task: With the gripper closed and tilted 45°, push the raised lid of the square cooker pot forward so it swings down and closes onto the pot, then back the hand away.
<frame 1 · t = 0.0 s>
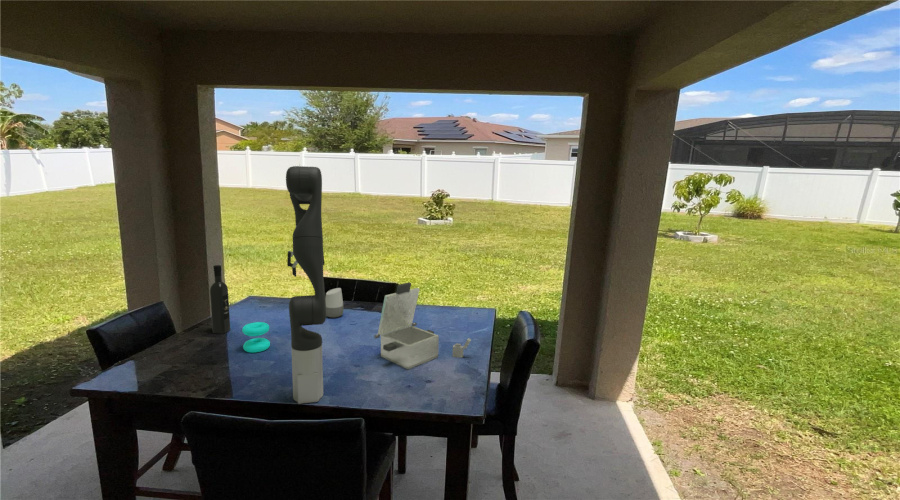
hand: (306, 275, 177), 29 cm above the table, tool pointing down, fingers open, 8 cm apart
cooker pot: (409, 356, 172), on the table
lighter: (461, 357, 174), on the table
donuts: (257, 349, 176), on the table
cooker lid: (399, 307, 173), point 19 cm above the table, hinge at 75.0°
wine bottle: (221, 332, 194), on the table
smart speaker: (334, 316, 219), on the table
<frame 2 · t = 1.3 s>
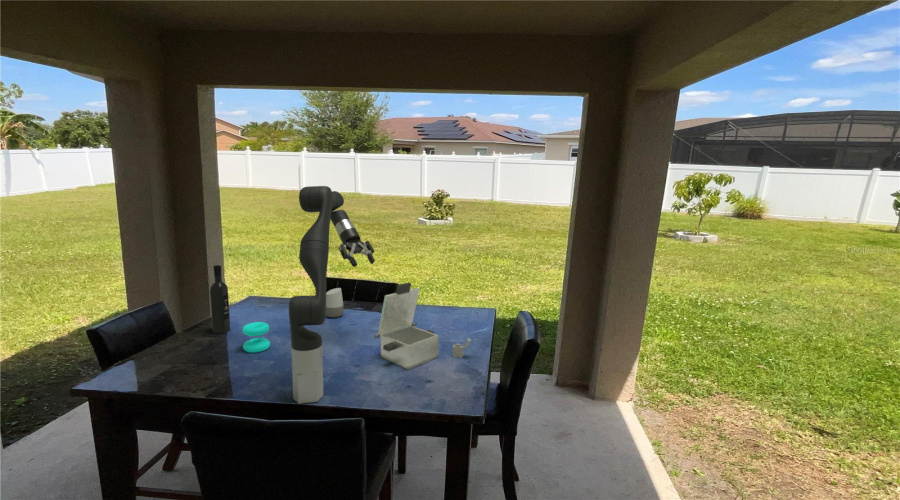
hand: (364, 264, 176), 35 cm above the table, tool tilted 45°, fingers open, 8 cm apart
nothing on the table moved.
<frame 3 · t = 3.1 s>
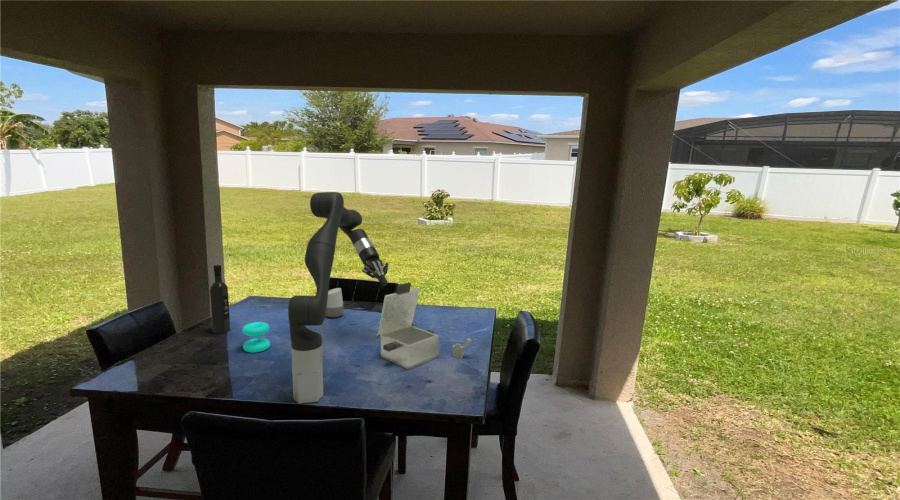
hand: (385, 284, 178), 27 cm above the table, tool tilted 45°, fingers closed
nothing on the table moved.
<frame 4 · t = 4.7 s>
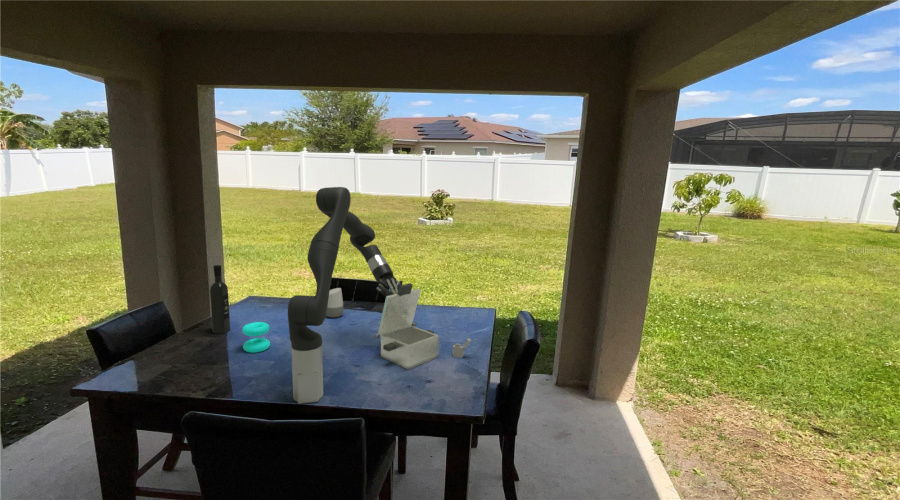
hand: (399, 303, 173), 21 cm above the table, tool tilted 45°, fingers closed
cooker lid: (400, 307, 173), point 19 cm above the table, hinge at 72.3°, touching gripper
everything else where it was.
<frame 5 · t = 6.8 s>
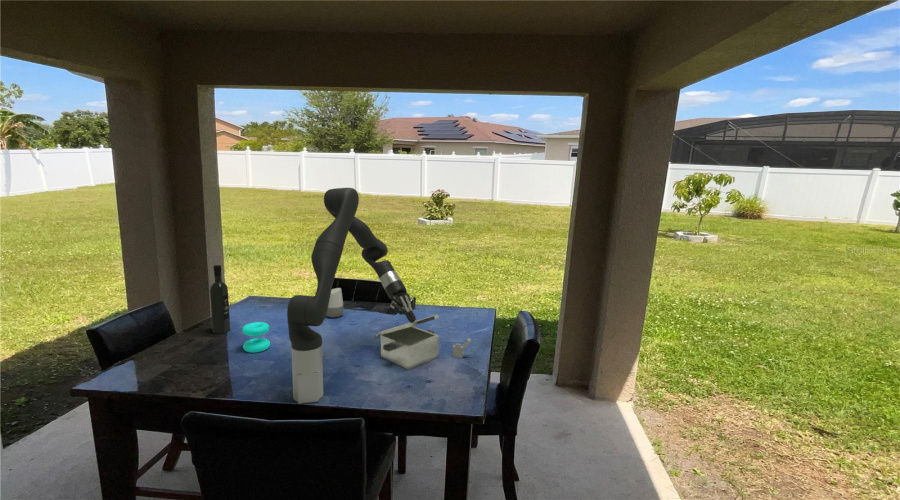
hand: (413, 321, 168), 15 cm above the table, tool tilted 45°, fingers closed
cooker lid: (411, 324, 169), point 14 cm above the table, hinge at 24.3°, touching gripper
everything else where it was.
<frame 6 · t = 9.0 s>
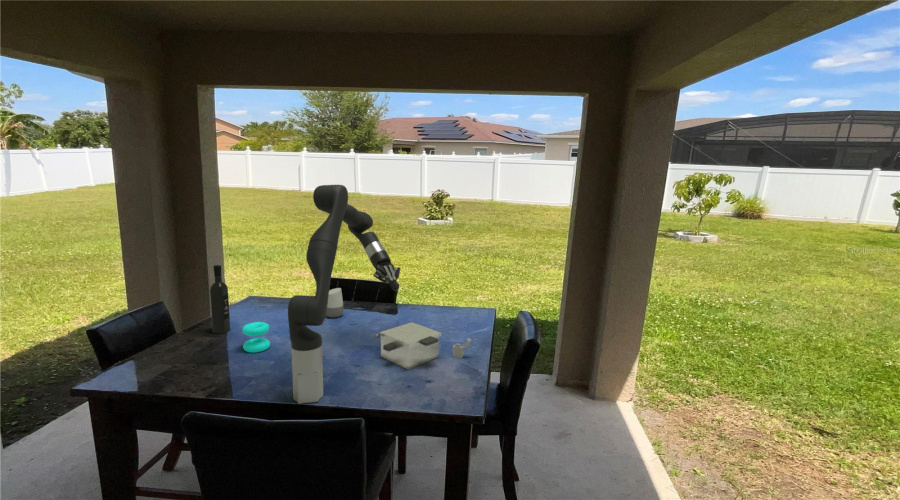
hand: (397, 289, 173), 26 cm above the table, tool tilted 45°, fingers closed
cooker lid: (413, 335, 169), point 10 cm above the table, hinge at -0.1°
everything else where it was.
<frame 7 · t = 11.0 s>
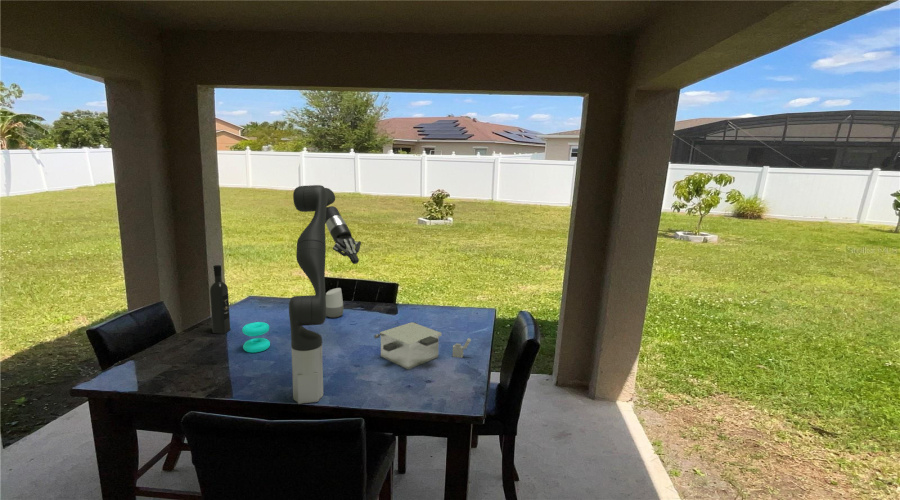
hand: (356, 262, 174), 36 cm above the table, tool tilted 45°, fingers closed
nothing on the table moved.
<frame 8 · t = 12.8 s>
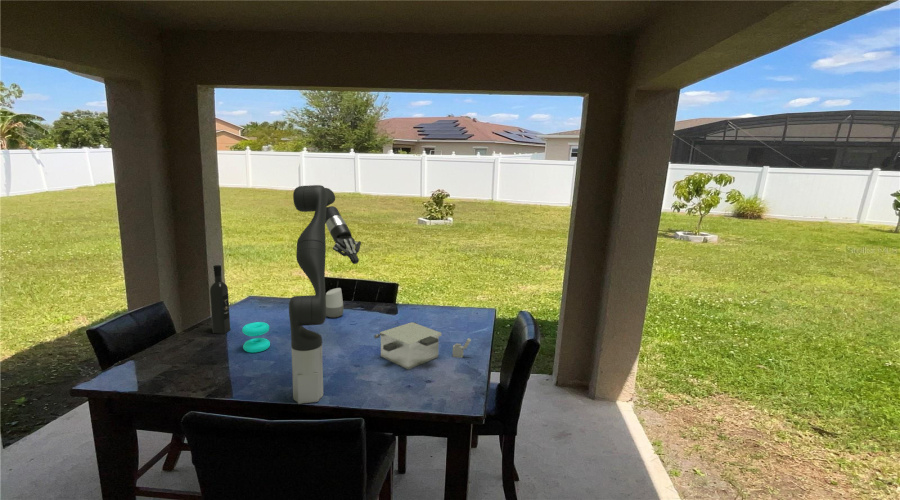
hand: (356, 262, 174), 36 cm above the table, tool tilted 45°, fingers closed
nothing on the table moved.
at the end: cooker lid at +0° (first picture: +75°); lighter moved 0.2 cm from its start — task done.
